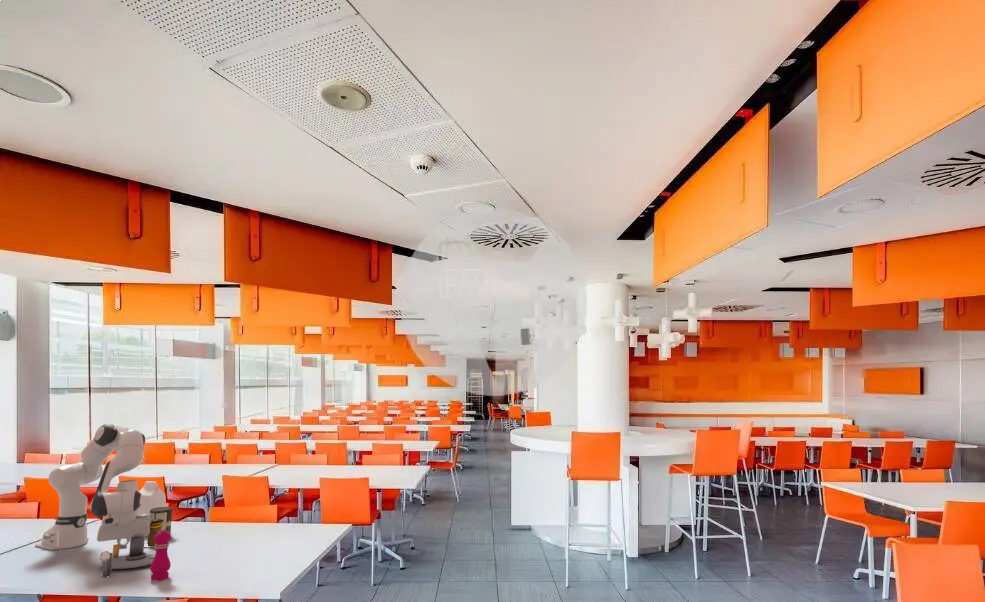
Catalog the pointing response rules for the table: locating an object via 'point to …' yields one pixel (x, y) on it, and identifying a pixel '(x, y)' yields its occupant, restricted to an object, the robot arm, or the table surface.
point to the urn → (136, 548)
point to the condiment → (154, 531)
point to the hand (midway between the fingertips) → (122, 548)
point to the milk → (150, 498)
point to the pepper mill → (161, 556)
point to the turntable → (122, 563)
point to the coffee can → (163, 516)
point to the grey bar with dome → (106, 563)
